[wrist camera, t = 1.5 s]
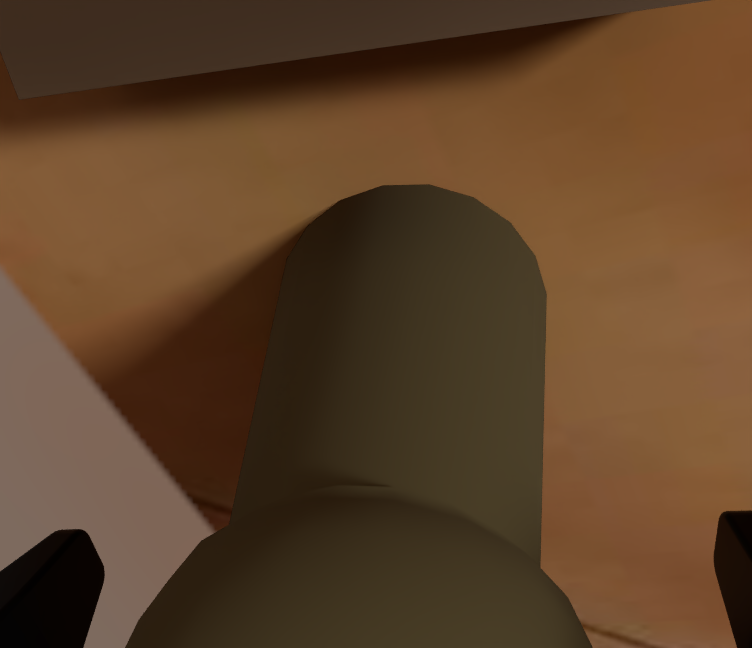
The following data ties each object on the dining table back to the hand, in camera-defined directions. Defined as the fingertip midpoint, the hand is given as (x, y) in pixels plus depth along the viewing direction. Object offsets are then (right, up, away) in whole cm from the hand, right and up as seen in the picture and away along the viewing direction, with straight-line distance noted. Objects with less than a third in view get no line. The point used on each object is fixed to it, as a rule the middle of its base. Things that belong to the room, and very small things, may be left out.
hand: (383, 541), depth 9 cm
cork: (+1, +3, +6) cm, 7 cm away
